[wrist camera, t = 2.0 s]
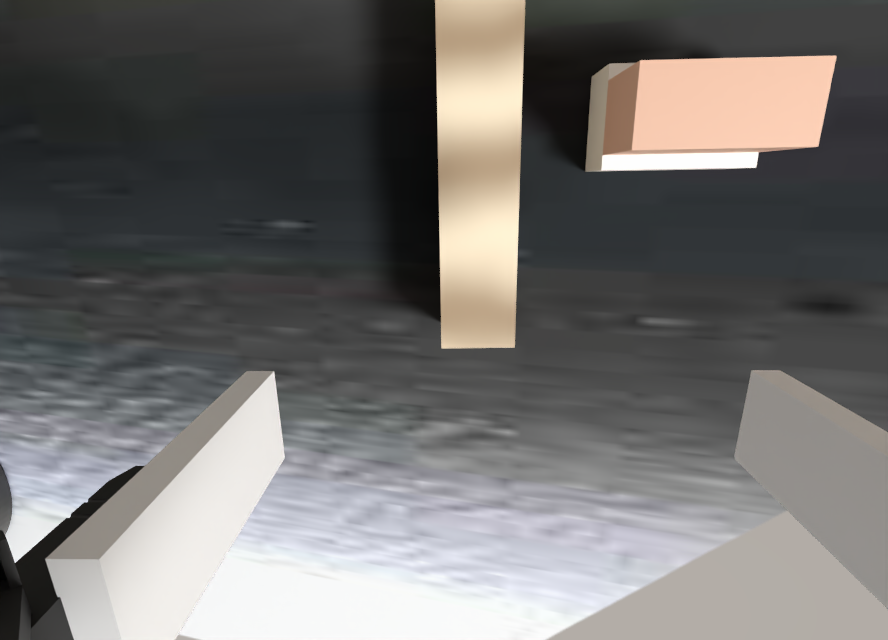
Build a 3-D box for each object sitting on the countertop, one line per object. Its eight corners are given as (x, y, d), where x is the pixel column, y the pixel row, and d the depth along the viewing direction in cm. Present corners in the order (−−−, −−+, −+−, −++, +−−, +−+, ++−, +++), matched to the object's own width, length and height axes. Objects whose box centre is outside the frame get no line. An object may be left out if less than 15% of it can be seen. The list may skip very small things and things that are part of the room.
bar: (504, 320, 30) (514, 347, 25) (442, 321, 30) (441, 348, 25) (511, 0, 25) (526, -43, 20) (437, 2, 25) (434, -41, 20)
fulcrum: (585, 171, 27) (630, 168, 20) (591, 76, 25) (642, 39, 19) (723, 168, 27) (814, 165, 20) (737, 73, 25) (841, 34, 19)
